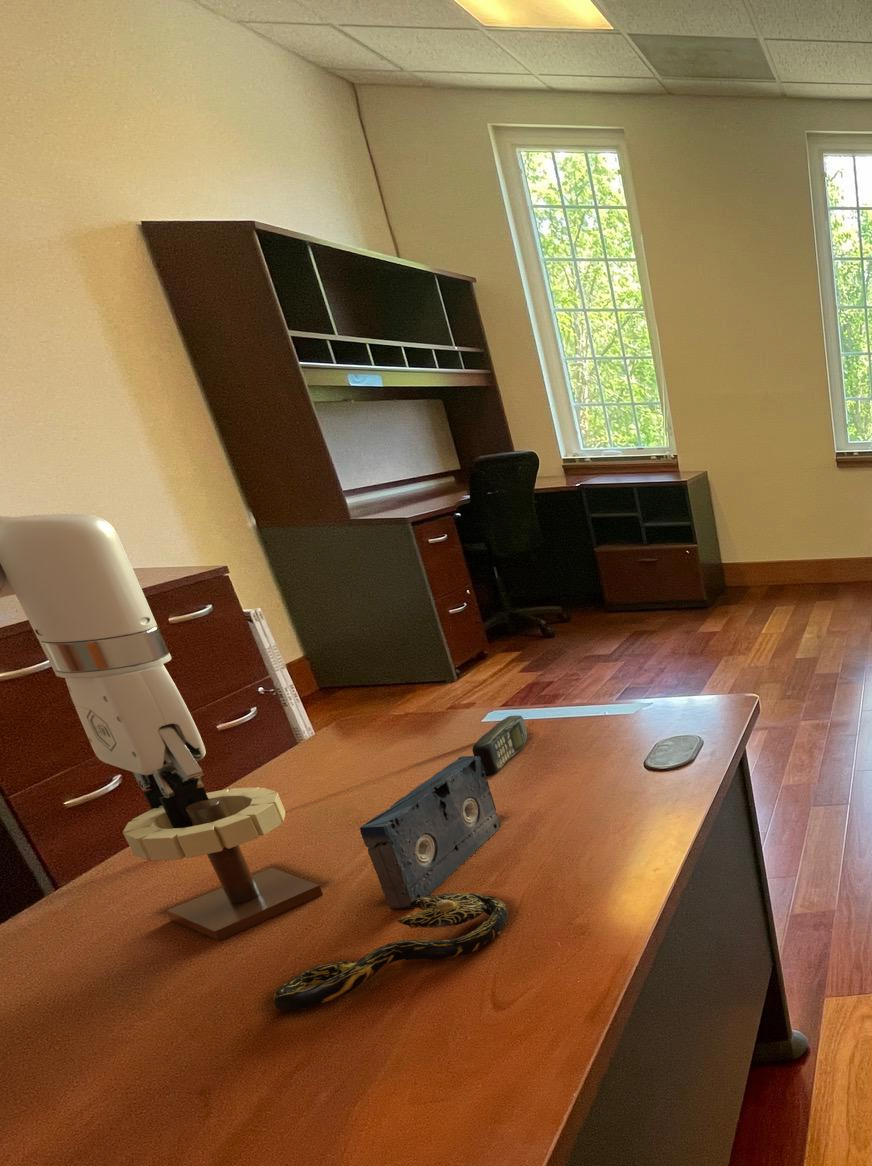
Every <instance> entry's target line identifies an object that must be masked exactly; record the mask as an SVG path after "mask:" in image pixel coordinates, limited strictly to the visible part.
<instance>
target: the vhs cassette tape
mask: <svg viewBox="0 0 872 1166" xmlns="http://www.w3.org/2000/svg"><path fill="white" fill-rule="evenodd" d="M480 760H481V758H480V756H474V755H465V756H459V757H458V758H457V759H456V760H454V761H453V762H450V764H448V765H447V766H445V767H444V768H442V769H441V770H440V771H438V772H436V773H434V774H433V775H432V776H431V777H429V778H428V779H427V780H425V781H424V782H422V783H420V784H419V785H418V786H416V787H415V788H413V789H412V790H410V792H409V793H406V795H404V796H403V797H401V798H399V799H398V800H397V801H396V802H394V803H393V804H392V805H391V806H390V808H387V809H386V810H385V811H382V812H381V813H379V814H377V815H376V816H374V817H373V818H371V819H370V820H368V821H367V822H366V823H365V824H363V825H361V826H360V827H359V830H360V834H361V838H362V840H363V843H364V845H365V847H366V848H367V853H368V857H369V858H370V861H371V863H372V866H373V869H374V871H375V873H376V875H377V878H378V881H379V884H380V887H381V890H382V892H383V894H384V898H385V899H386V902H387V905H388V907H389V908H390V909H399V910H400V909H411V908H412V909H416V908H415V907H411V905H410V902H411V901H412V900H414V899H416V898H421V897H426V896H430V895H431V894H432V893H433V892H434V891H435V890H436V889H437V888H439V886H440V885H441V884H442V883H444V882H445V881H446V880H447V879H448V878H449V877H450V876H451V875H452V874H453V873H454V872H455V871H457V870H458V868H459V867H460V866H461V865H463V863H464V862H466V861H467V860H468V859H469V858H470V857H471V856H472V855H474V854H475V852H477V851H478V850H479V848H481V847H482V846H483V845H484V844H485V843H486V842H487V841H488V840H489V839H490V838H492V836H493V835H494V834H496V833H497V832H498V831H499V829H500V828H501V826H502V825H501V821H500V818H499V815H498V813H497V812H496V811H497V808H496V804H495V802H494V797H493V794H492V791H491V789H490V784H489V782H488V778H487V775H486V774H485V770H484V766H483V764H482V762H481V761H480Z"/></svg>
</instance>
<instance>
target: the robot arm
mask: <svg viewBox="0 0 872 1166" xmlns="http://www.w3.org/2000/svg"><path fill="white" fill-rule="evenodd" d="M14 595H15V596H16V599H17V600H18V602H19V604H20V607H21V608H22V610H23V612H24V614H25V616H26V618H27V621H28V622H29V624H30V626H31V628H32V631H33V632H34V634H35V635H36V636H35V637H36V638H37V640H38V642H39V644H40V646H41V649H42V650H43V652H44V654H45V656H46V659H47V660H48V662H49V664H50V666H51V668H52V670H53V672H54V674H55V676H56V677H58V678H63V679H65V683H66V686H67V689H68V692H69V695H70V698H71V701H72V703H73V706H74V708H75V711H76V713H77V715H78V718H79V720H80V722H81V725H82V727H83V729H84V732H85V734H86V736H87V739H88V742H89V743H90V746H91V748H92V750H93V752H94V755H95V756H96V758H97V759H98V760H99V761H101V762H103V763H105V764H107V765H110V766H113V767H115V768H119V769H122V770H125V771H128V772H131V773H132V774H133V775H134V778H135V780H136V782H137V784H138V786H139V787H140V788H141V790H143V791H142V793H143V795H144V797H145V800H146V801H147V804H148V806H149V808H150V810H151V809H153V808H159V806H163V808H164V810H165V812H166V814H167V816H168V818H169V820H170V822H171V824H172V826H173V828H186V827H191V826H193V824H192V821H191V819H190V817H189V815H188V813H187V811H186V807H188V806H189V805H191V804H194V803H196V802H200V801H204V800H209V799H208V796H207V794H206V793H207V791H206V789H205V788H204V782H203V781H202V779H201V777H202V776H204V771H203V770H202V768H201V766H200V764H199V763H198V761H201V760H203V759H204V757H205V756H206V754H207V752H206V751H207V750H206V747H205V744H204V742H203V739H202V737H201V733H200V731H199V729H198V727H197V725H196V723H195V721H194V718H193V716H192V714H191V713H190V710H189V709H188V706H187V704H186V702H185V700H184V699H183V696H182V695H181V693H180V690H179V689H178V687H177V685H176V683H175V682H174V680H173V679H172V676H171V675H170V673H169V671H168V669H167V668H166V666H165V665H164V664H167V663H168V662H170V661H171V660H172V655H171V653H170V651H169V649H168V645H167V644H166V642H165V639H164V637H163V635H162V632H161V631H160V627H159V626H158V624H157V621H156V620H155V617H154V615H153V611H152V610H151V607H150V605H149V602H148V600H147V598H146V596H145V593H144V591H143V589H142V587H141V584H140V582H139V580H138V577H137V575H136V572H135V570H134V568H133V566H132V563H131V561H130V559H129V557H128V555H127V552H126V550H125V548H124V545H123V542H122V541H121V538H120V536H119V534H118V532H117V530H116V529H115V527H114V526H113V525H112V524H111V523H110V522H109V521H107V519H104V518H102V517H100V516H98V515H93V514H87V513H48V514H34V515H33V514H32V515H21V516H10V515H9V516H8V515H0V599H2V598H5V597H9V596H14Z"/></svg>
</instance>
